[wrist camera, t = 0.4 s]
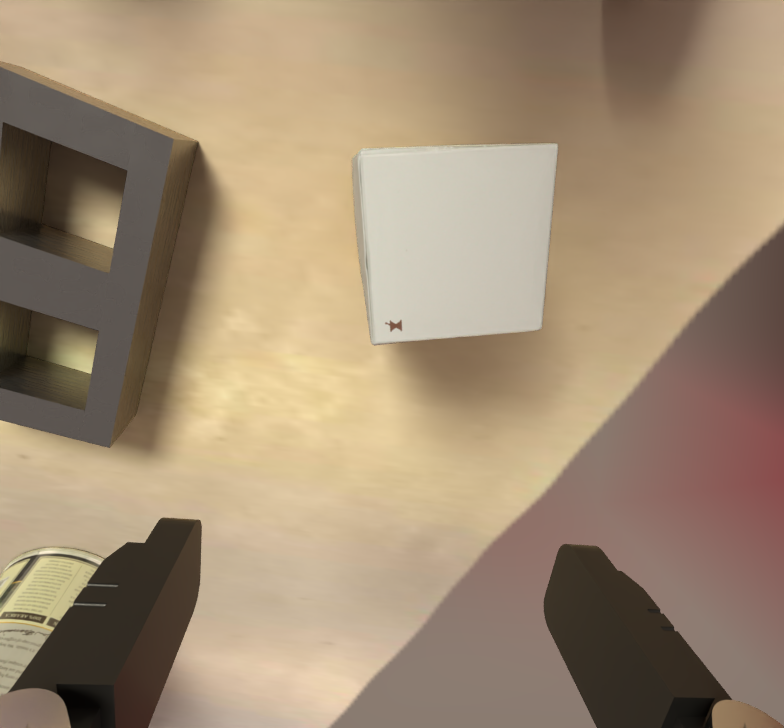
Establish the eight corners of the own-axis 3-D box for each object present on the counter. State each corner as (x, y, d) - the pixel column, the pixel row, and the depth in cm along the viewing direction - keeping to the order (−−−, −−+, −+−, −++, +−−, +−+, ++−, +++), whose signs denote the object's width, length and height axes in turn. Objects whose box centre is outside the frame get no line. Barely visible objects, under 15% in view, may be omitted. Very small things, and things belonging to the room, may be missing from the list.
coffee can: (121, 640, 42) (22, 854, 29) (-5, 618, 39) (-174, 841, 27) (146, 562, 38) (46, 766, 26) (9, 531, 36) (-178, 741, 23)
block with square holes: (21, 66, 24) (-38, 50, 20) (197, 141, 26) (173, 139, 22) (-7, 376, 30) (-55, 406, 27) (135, 415, 33) (109, 447, 29)
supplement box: (470, 269, 30) (545, 338, 19) (358, 275, 30) (366, 350, 18) (474, 146, 27) (566, 139, 16) (350, 151, 27) (352, 148, 15)
